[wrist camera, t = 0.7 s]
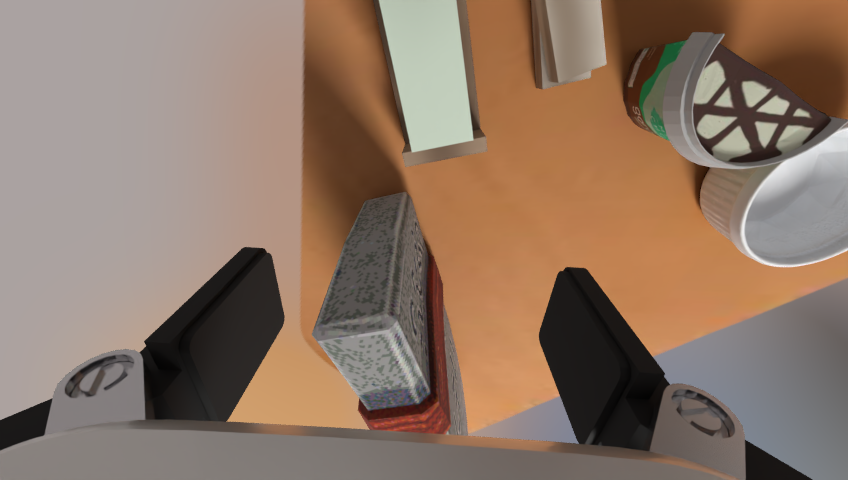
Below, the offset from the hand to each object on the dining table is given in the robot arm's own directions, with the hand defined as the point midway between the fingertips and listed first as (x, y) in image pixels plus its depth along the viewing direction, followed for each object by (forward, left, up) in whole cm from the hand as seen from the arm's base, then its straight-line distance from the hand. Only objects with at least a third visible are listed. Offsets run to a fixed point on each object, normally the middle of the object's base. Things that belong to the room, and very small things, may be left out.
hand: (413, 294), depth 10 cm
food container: (-22, +1, -24) cm, 33 cm away
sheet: (-2, -8, -24) cm, 26 cm away
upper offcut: (-12, -8, -22) cm, 27 cm away
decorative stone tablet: (+5, +19, -24) cm, 31 cm away
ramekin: (-33, +10, -25) cm, 42 cm away
